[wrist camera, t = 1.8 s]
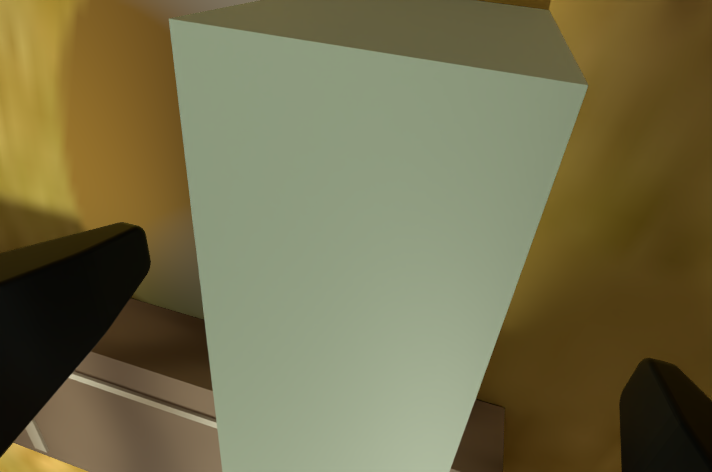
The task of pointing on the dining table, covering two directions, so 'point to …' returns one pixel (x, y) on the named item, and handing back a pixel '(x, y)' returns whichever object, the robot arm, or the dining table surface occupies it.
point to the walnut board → (173, 404)
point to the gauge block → (363, 215)
